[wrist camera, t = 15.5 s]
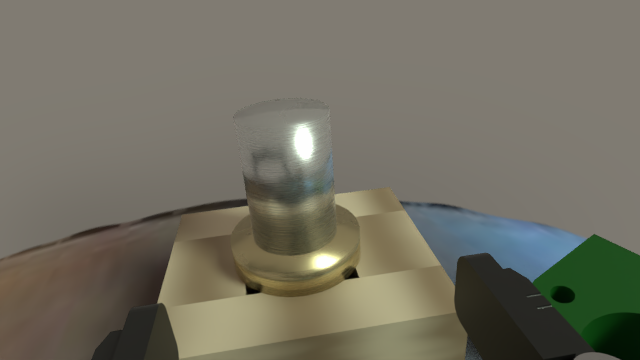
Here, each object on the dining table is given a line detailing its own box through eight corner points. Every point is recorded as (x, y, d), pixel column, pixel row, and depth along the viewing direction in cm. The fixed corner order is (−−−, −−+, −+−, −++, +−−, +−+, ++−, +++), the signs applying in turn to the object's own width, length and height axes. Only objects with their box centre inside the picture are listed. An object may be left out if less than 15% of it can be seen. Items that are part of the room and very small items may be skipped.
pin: (250, 393, 22) (198, 147, 16) (250, 304, 28) (212, 100, 22) (376, 371, 23) (372, 126, 17) (350, 288, 29) (340, 86, 23)
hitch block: (174, 459, 20) (139, 365, 17) (201, 289, 30) (182, 214, 28) (459, 404, 21) (470, 309, 18) (389, 261, 32) (389, 187, 29)
